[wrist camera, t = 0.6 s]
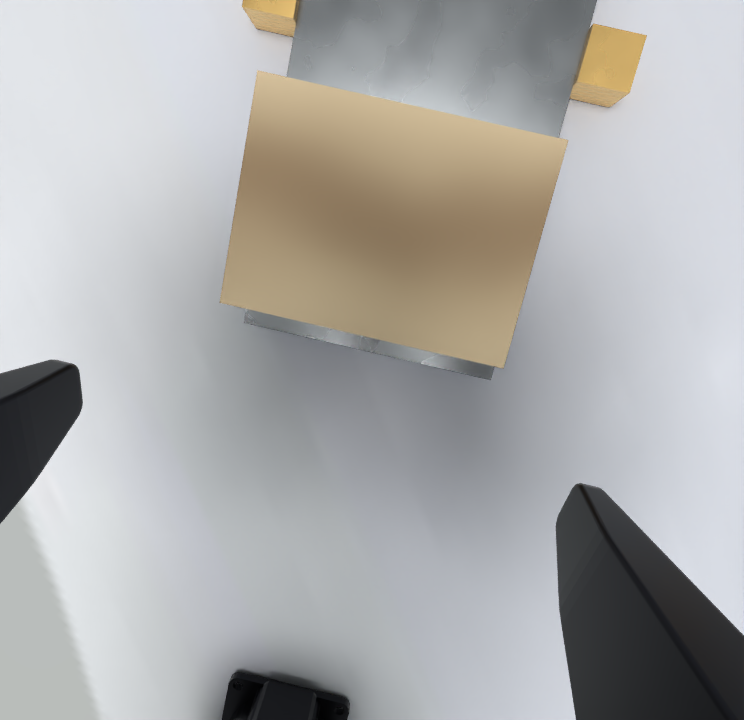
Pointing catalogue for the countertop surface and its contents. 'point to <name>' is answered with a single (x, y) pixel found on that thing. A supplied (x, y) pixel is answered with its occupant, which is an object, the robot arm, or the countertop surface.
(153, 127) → the countertop surface
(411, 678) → the countertop surface
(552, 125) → the metal tray
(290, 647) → the countertop surface
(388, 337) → the tan wooden block
